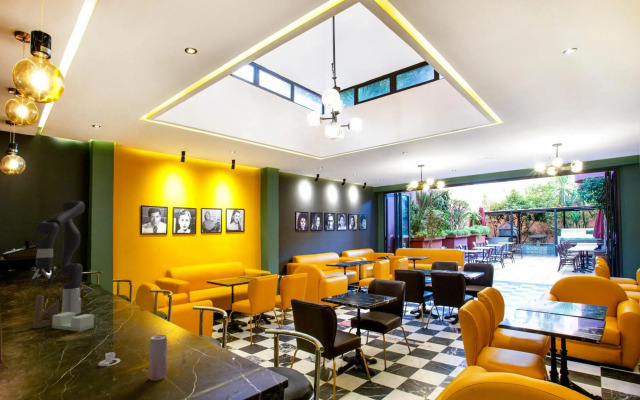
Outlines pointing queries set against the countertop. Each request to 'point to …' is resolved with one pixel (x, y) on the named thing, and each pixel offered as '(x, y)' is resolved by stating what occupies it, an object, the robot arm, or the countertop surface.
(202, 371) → the countertop surface
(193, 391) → the countertop surface
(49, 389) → the countertop surface
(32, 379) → the countertop surface
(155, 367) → the beverage can
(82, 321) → the slotted beam
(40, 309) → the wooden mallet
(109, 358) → the teacup and saucer
